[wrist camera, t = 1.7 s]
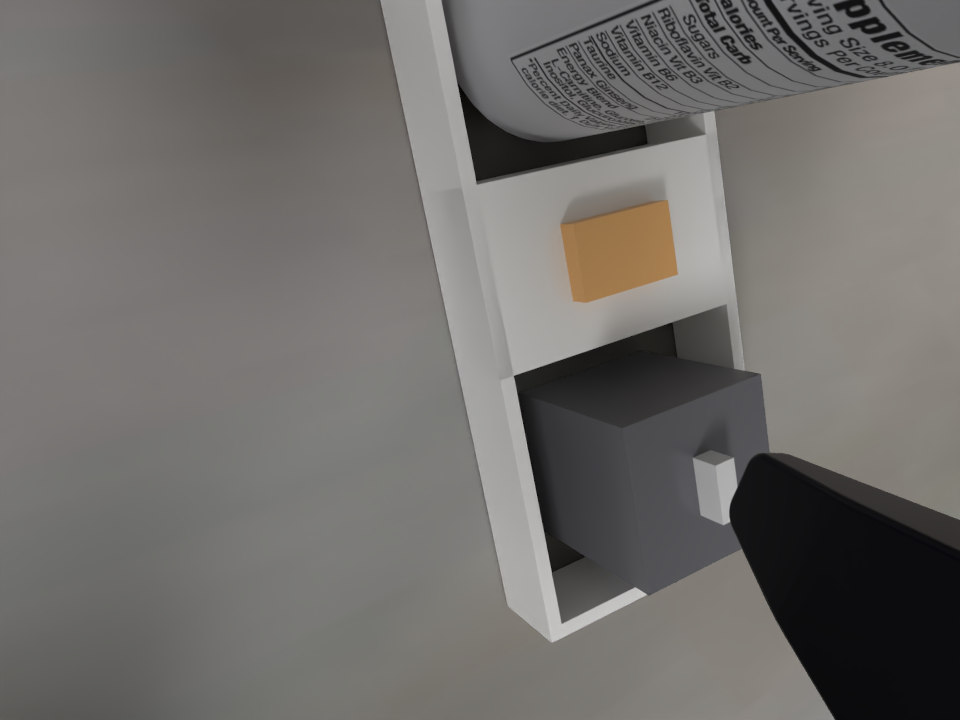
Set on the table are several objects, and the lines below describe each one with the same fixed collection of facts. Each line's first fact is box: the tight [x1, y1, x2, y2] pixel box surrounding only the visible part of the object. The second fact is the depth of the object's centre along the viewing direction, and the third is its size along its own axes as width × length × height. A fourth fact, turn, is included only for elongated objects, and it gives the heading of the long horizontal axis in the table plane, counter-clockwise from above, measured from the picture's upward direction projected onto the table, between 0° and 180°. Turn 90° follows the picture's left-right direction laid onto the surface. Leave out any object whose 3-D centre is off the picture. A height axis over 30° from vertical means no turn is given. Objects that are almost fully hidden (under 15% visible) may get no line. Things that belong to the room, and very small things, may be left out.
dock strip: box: [380, 0, 745, 643], centre depth 22 cm, size 20×8×3 cm, turn 13°
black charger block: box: [519, 351, 770, 595], centre depth 22 cm, size 4×4×6 cm
